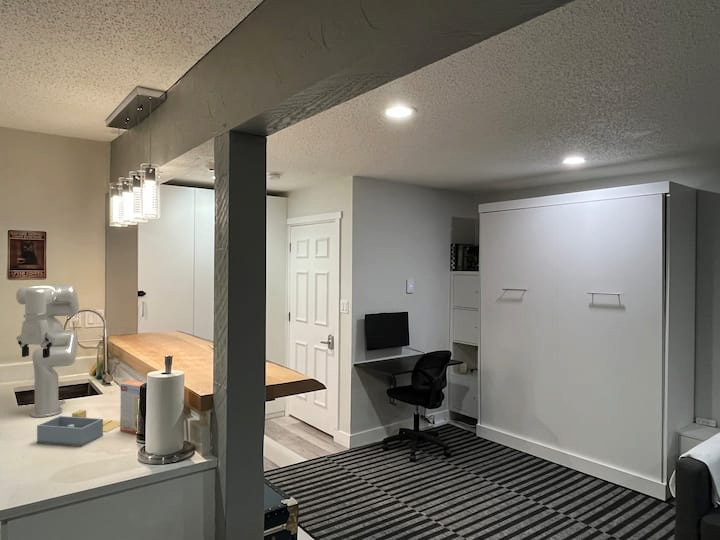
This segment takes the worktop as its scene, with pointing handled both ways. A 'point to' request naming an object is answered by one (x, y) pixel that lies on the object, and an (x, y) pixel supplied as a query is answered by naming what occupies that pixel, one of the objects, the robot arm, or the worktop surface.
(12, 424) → the worktop surface
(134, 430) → the cracker box
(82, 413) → the lid
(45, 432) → the tub
